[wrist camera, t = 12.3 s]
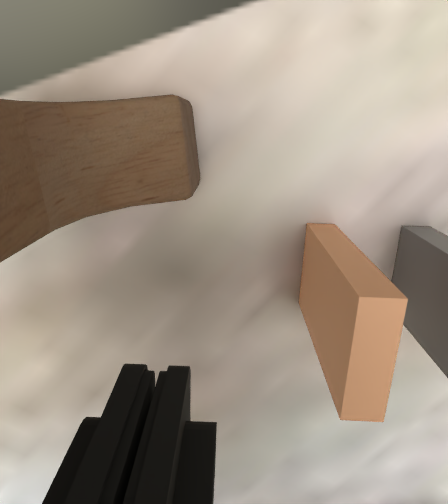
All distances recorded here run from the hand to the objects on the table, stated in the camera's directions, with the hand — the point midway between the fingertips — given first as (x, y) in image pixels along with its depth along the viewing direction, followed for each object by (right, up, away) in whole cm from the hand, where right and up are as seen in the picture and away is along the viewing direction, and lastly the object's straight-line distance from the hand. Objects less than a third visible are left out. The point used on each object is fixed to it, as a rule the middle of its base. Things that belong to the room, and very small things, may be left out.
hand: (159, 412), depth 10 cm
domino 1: (+7, +3, +13) cm, 15 cm away
